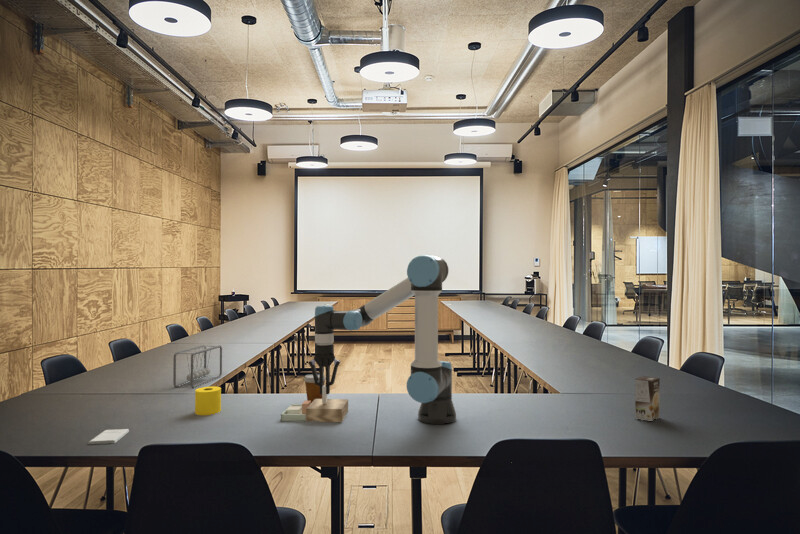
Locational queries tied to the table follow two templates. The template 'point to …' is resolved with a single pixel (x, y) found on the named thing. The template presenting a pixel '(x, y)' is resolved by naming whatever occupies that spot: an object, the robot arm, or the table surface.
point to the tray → (293, 415)
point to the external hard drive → (109, 436)
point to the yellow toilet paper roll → (207, 400)
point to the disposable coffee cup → (312, 388)
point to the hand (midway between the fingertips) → (324, 402)
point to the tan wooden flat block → (327, 410)
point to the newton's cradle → (200, 372)
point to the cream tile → (294, 410)
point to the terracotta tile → (305, 406)
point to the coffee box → (647, 398)
